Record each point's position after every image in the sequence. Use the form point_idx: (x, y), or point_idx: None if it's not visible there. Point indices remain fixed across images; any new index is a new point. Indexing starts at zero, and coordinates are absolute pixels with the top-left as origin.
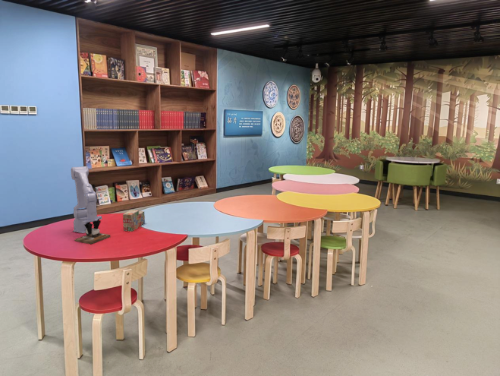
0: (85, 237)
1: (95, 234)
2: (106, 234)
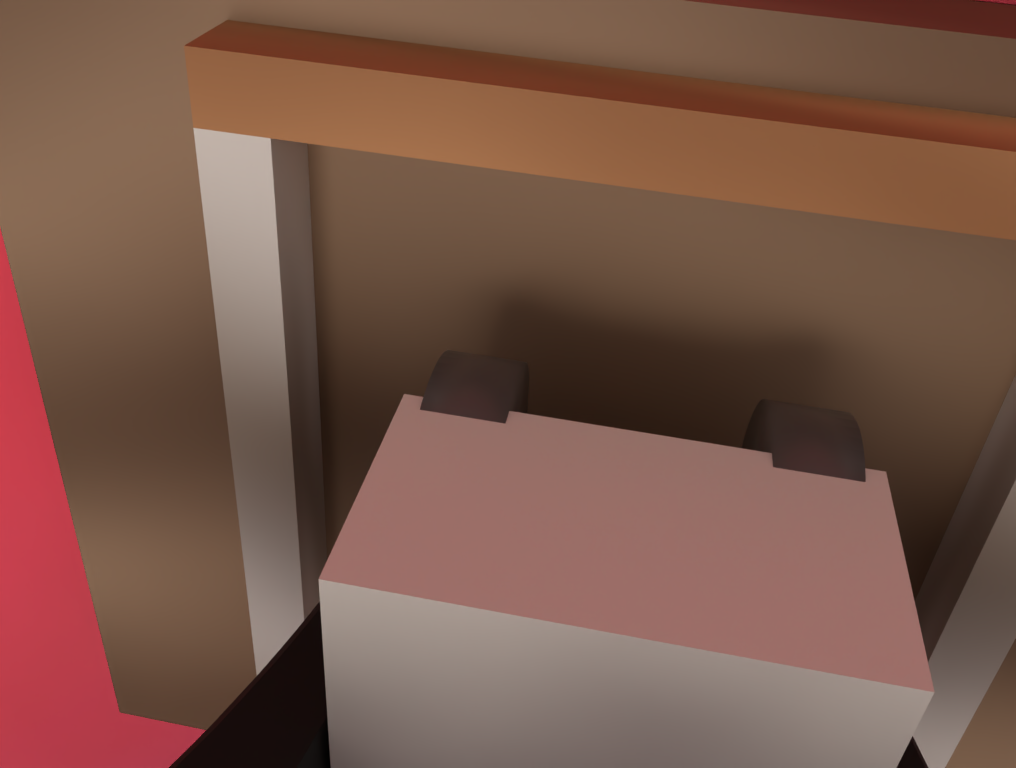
0: (967, 705)
1: (788, 441)
2: (28, 169)
